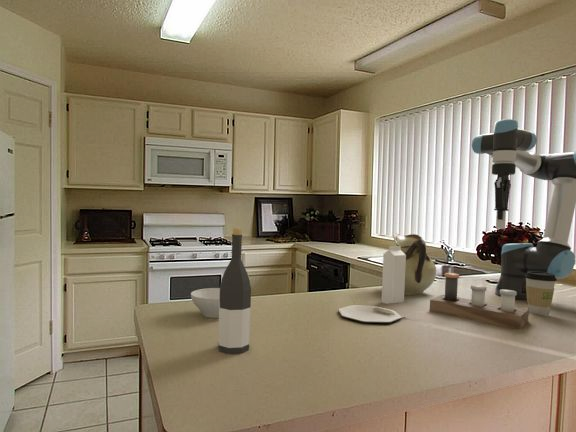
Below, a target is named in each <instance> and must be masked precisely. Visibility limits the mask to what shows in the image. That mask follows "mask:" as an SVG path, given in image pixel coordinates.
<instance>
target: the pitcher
mask: <svg viewBox="0 0 576 432" xmlns="http://www.w3.org/2000/svg"><path fill="white" fill-rule="evenodd" d="M393 240H394V243H395V246H401V251H402V252H403V253H404V254H405V255H406V266H405V288H404V296H414V295H417V294H424V291H426V290H427V289H429V288H430V287H431V286H432V284H433V283H434V282H435V280H436V277H437V266H436V264H435V263H434V261H433V260H432V259H431V257H430V256H429V255H428V253H427V244H426V242H425V240H424V239H423V237H422V236H420V235H418V234H417V233H416V234H415V233H412V234H407V235H402V234H401V235H400V234H398V233H394V234H393Z"/></svg>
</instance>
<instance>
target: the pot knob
mask: <svg viewBox="0 0 576 432" xmlns="http://www.w3.org/2000/svg"><path fill="white" fill-rule="evenodd" d="M444 277H445V282H444V295H445V300H449V301H457V297H458V285H459V284H458V283H459V278H460V274H459V273H454V272H445V273H444Z"/></svg>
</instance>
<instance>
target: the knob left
mask: <svg viewBox="0 0 576 432" xmlns="http://www.w3.org/2000/svg"><path fill="white" fill-rule="evenodd" d="M500 294H501V296H500V303H499V304H500V310H503V311H508V312H514V307H516V306H515V304H516V303H515V302H516V298H515V296H516V295H517V292H516V291H513V290H505V289H501V290H500Z"/></svg>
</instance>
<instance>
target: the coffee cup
mask: <svg viewBox="0 0 576 432" xmlns="http://www.w3.org/2000/svg"><path fill="white" fill-rule="evenodd" d="M525 278H526V292H527V299H526V302H527V308H528V309H529V313H530V314H534V315H540V316H546V317H549V316H550V312H551V307H552V302H553V297H554V292H555V286H556V285H555V284H556V282H557V278H555V274H552V273H546V272H537V271H528V272H527V274H526V275H525Z"/></svg>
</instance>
